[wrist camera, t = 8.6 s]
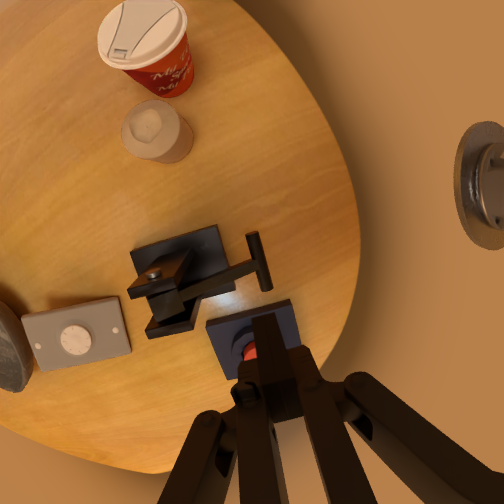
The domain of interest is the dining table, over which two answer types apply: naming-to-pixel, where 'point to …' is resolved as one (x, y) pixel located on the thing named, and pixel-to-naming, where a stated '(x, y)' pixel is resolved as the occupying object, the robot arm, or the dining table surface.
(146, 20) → the paper cup
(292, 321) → the control block
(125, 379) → the dining table surface
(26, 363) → the bowl
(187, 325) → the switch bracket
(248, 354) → the power button
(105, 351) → the light switch
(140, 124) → the candle
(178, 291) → the switch lever
